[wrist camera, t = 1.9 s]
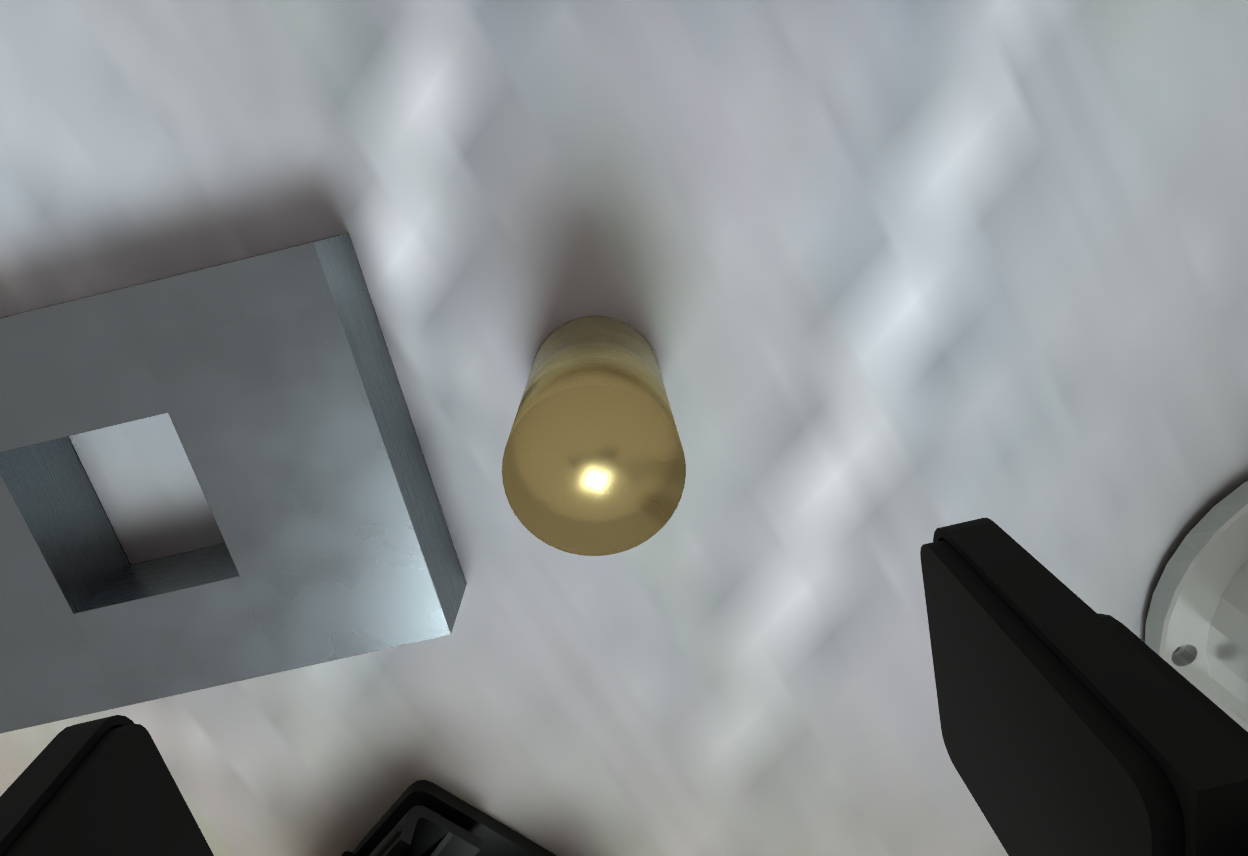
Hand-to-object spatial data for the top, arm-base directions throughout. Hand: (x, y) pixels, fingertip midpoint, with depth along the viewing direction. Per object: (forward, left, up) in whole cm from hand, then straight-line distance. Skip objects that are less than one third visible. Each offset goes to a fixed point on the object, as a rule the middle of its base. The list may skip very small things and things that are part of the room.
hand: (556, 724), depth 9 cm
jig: (+14, 0, -16) cm, 21 cm away
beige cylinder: (0, 0, -16) cm, 16 cm away
